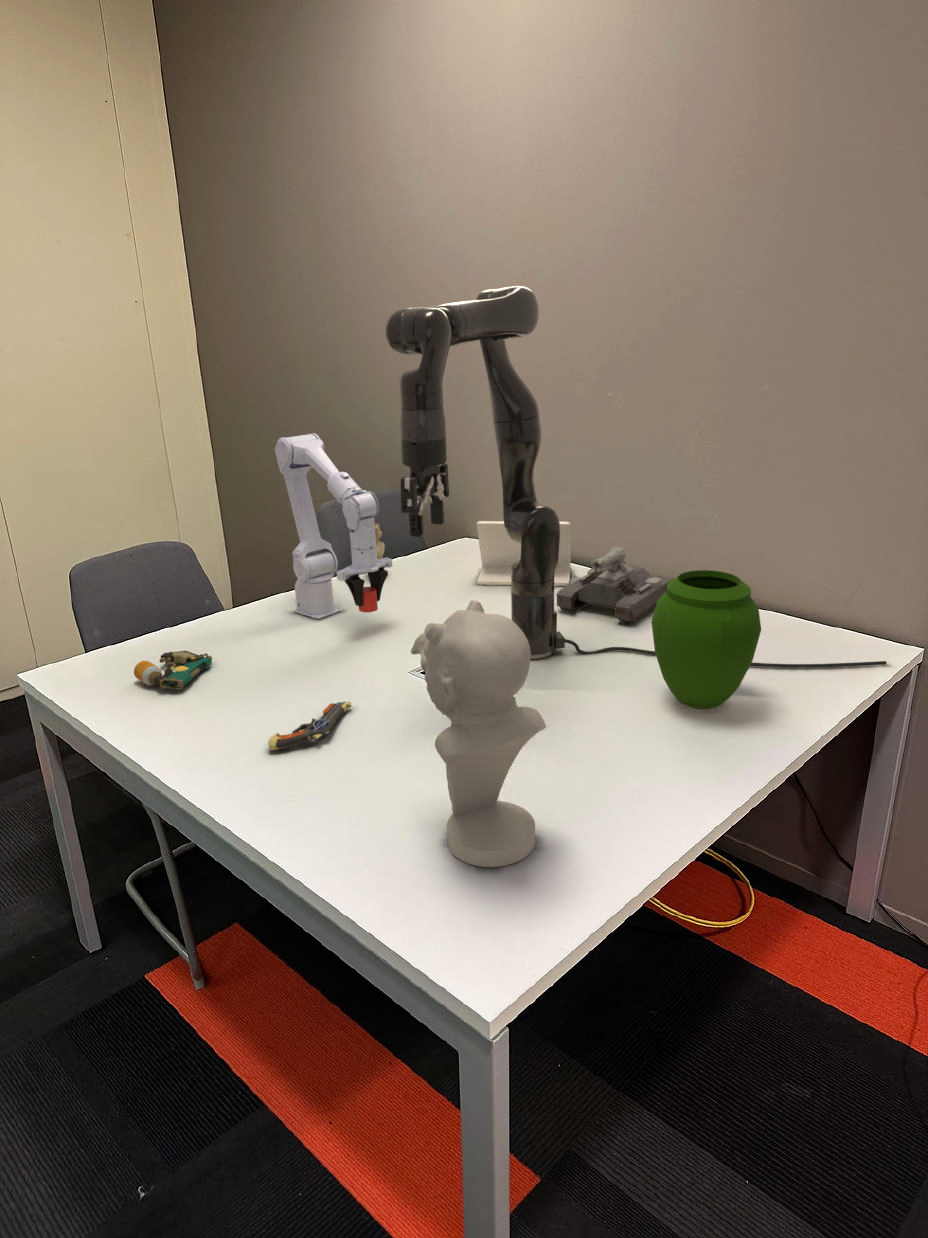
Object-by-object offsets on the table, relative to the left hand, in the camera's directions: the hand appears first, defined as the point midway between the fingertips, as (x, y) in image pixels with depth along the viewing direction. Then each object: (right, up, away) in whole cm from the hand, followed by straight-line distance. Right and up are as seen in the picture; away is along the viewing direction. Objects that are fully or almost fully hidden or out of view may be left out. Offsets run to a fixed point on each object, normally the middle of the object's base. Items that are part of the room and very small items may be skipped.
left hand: (367, 602), depth 199 cm
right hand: (+16, +12, -51) cm, 55 cm away
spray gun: (-38, -16, -18) cm, 45 cm away
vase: (+67, -20, -36) cm, 79 cm away
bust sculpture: (+23, -35, -74) cm, 85 cm away
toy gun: (-5, -24, -42) cm, 49 cm away
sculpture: (-2, +8, +42) cm, 43 cm away
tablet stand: (+40, +8, +40) cm, 57 cm away
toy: (+61, 0, +16) cm, 63 cm away
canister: (0, -2, +1) cm, 2 cm away
